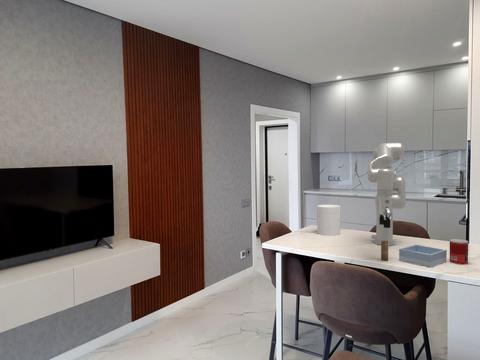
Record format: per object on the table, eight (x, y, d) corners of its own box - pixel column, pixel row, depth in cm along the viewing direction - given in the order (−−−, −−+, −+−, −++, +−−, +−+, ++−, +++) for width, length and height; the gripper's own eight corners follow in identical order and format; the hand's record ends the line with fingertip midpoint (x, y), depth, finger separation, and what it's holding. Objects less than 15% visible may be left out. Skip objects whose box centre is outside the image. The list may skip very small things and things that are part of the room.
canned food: (469, 264, 175) (469, 242, 175) (450, 263, 178) (451, 241, 177) (466, 260, 182) (466, 239, 182) (448, 259, 185) (448, 238, 185)
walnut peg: (379, 259, 187) (379, 240, 186) (383, 258, 189) (383, 240, 188) (385, 261, 184) (385, 242, 183) (389, 260, 186) (389, 241, 185)
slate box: (399, 260, 185) (399, 248, 185) (415, 255, 194) (415, 244, 194) (430, 267, 172) (430, 255, 172) (446, 261, 181) (446, 250, 181)
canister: (313, 234, 256) (313, 206, 255) (323, 230, 269) (322, 204, 268) (335, 236, 246) (334, 207, 245) (343, 232, 259) (343, 205, 258)
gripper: (396, 194, 175) (396, 229, 176) (388, 191, 192) (388, 223, 193) (380, 194, 177) (380, 228, 177) (373, 191, 194) (373, 223, 194)
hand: (384, 226), depth 185 cm, fingers open, 9 cm apart
